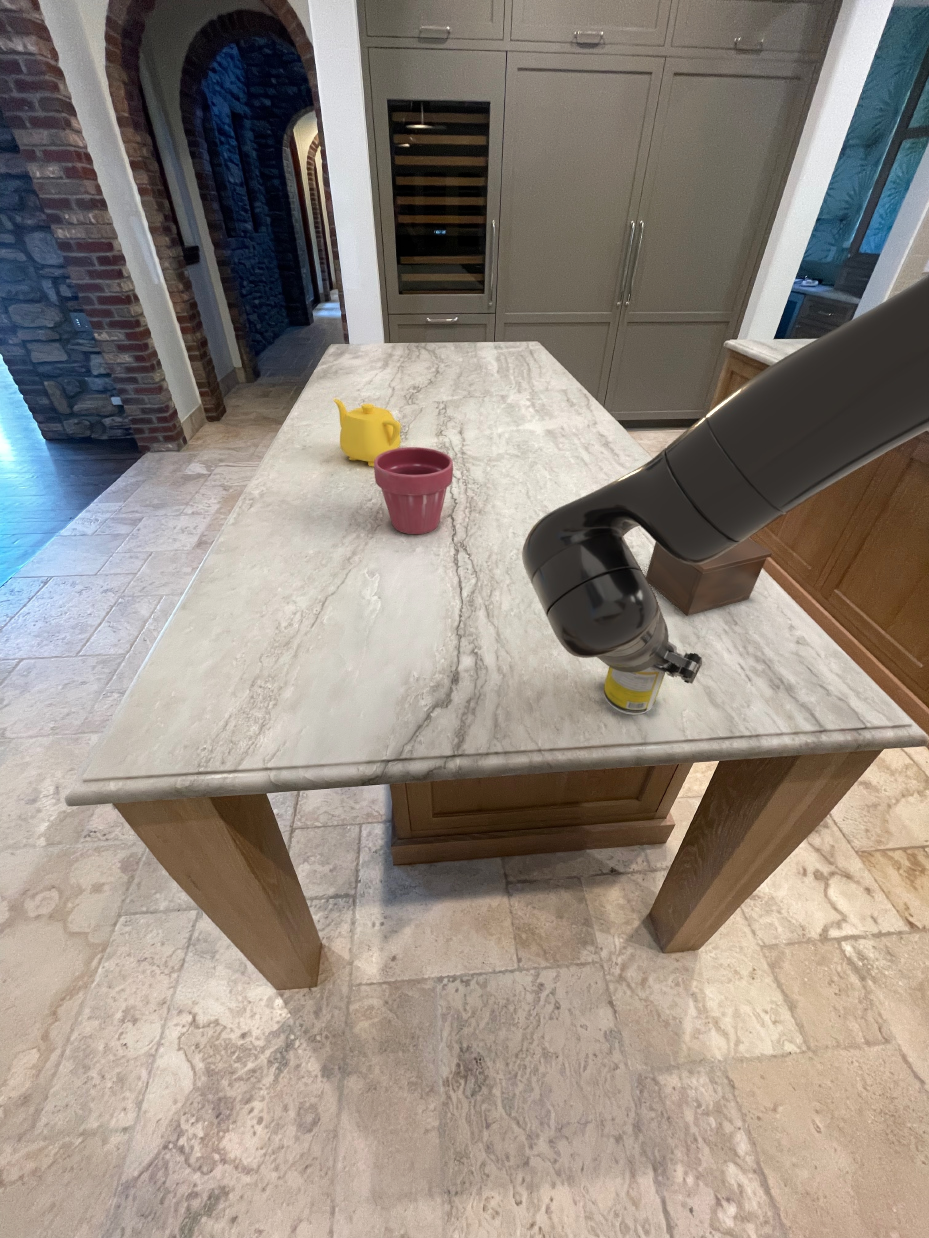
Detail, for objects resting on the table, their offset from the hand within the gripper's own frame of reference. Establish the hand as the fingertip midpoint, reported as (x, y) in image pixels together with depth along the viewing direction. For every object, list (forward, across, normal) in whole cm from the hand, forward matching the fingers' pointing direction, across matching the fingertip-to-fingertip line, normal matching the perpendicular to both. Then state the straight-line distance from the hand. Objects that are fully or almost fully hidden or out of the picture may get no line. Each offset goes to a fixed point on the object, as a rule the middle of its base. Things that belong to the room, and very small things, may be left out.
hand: (643, 654), depth 66 cm
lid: (+20, +1, -22) cm, 29 cm away
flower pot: (+16, +52, -7) cm, 55 cm away
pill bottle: (+4, 0, +6) cm, 7 cm away
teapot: (+29, +83, -19) cm, 90 cm away
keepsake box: (+25, +2, -16) cm, 30 cm away
